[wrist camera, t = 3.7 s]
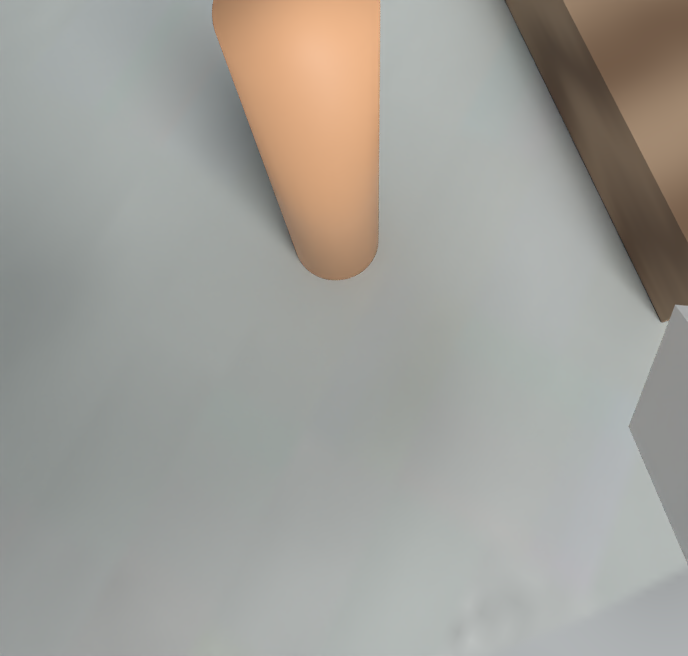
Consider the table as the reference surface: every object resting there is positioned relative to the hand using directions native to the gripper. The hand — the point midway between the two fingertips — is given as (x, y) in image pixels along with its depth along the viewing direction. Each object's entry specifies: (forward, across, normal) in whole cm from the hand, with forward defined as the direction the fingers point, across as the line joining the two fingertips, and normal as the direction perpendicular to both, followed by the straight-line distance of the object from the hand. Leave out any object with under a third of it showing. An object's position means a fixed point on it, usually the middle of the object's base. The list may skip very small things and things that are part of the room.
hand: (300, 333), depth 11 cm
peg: (+12, -1, -3) cm, 12 cm away
